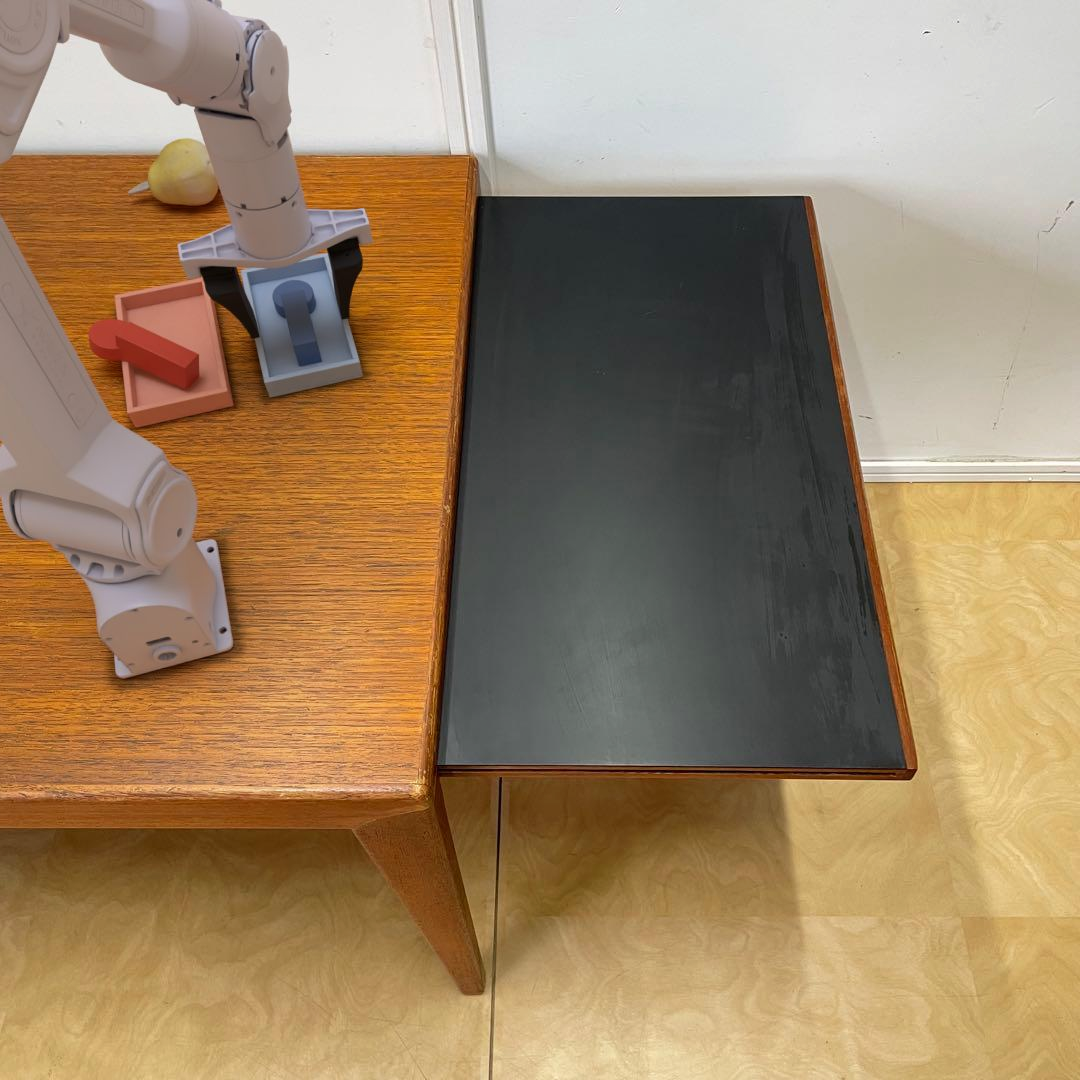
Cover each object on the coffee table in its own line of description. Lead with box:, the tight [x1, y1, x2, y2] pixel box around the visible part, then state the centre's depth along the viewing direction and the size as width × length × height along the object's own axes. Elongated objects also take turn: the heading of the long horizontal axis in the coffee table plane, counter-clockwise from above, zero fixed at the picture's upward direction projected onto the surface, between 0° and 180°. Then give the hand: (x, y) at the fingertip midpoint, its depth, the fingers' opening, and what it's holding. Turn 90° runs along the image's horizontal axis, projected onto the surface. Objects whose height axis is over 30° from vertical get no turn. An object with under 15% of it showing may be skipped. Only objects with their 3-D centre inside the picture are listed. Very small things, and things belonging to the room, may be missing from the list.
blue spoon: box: [272, 280, 322, 366], centre depth 80 cm, size 9×4×3 cm, turn 18°
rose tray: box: [114, 277, 235, 429], centre depth 79 cm, size 14×8×2 cm, turn 18°
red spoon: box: [87, 318, 199, 389], centre depth 76 cm, size 9×4×3 cm, turn 68°
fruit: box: [127, 137, 219, 207], centre depth 88 cm, size 6×6×10 cm
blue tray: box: [240, 252, 364, 398], centre depth 81 cm, size 14×8×2 cm, turn 18°
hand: (299, 320), depth 79 cm, fingers open, 7 cm apart
